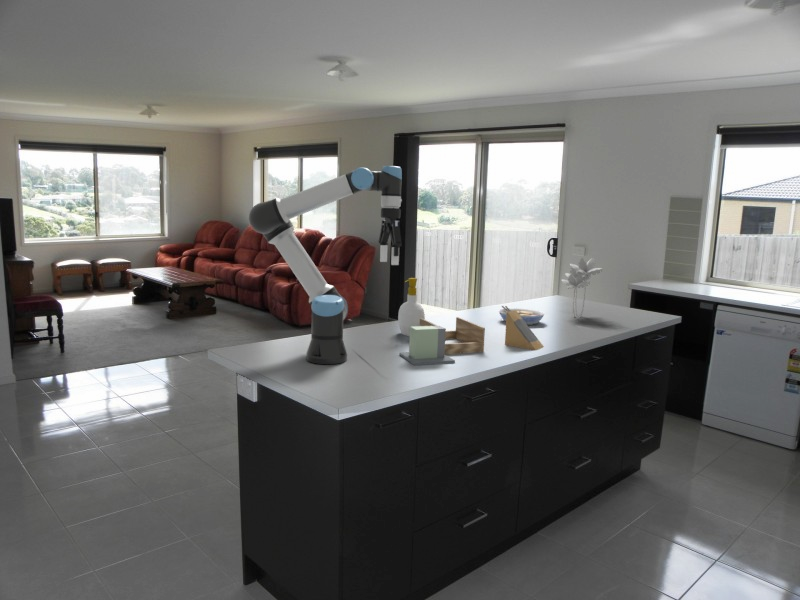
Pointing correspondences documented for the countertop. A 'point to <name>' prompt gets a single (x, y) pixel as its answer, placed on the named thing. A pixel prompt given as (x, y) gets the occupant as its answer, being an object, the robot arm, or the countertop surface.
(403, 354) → the slate mat
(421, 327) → the capped box
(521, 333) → the sandwich container
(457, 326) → the wooden display shelf
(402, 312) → the soap bottle
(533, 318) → the ramen bowl
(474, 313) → the countertop surface
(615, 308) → the countertop surface
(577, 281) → the flower bouquet
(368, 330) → the countertop surface
